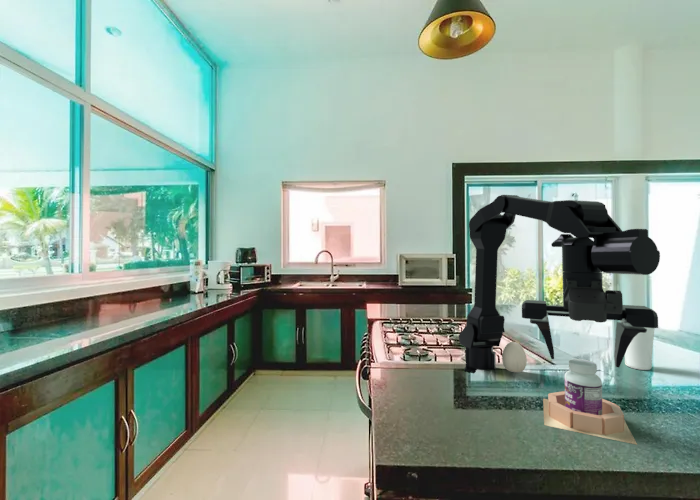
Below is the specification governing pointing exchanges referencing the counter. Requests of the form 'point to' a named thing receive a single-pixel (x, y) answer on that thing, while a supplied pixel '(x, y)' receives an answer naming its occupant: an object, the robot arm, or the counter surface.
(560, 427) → the board
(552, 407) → the collar
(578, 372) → the pill bottle
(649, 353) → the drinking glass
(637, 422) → the counter surface
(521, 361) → the egg
